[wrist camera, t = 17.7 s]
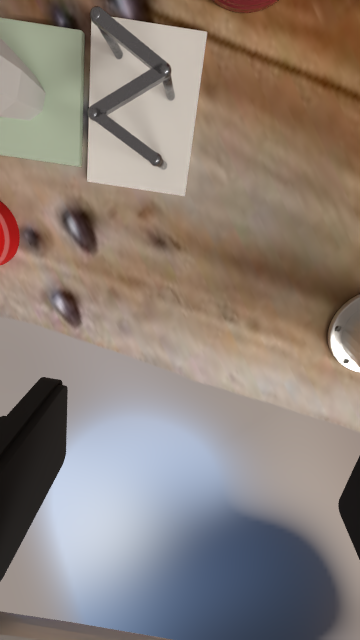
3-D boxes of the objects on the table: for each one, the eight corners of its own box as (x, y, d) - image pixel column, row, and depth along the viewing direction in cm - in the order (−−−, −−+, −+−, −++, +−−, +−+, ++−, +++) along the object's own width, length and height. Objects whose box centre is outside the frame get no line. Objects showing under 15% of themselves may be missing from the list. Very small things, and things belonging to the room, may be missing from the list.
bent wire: (180, 56, 34) (176, 15, 26) (167, 171, 38) (160, 166, 30) (113, 46, 34) (88, 1, 26) (107, 162, 38) (84, 155, 30)
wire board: (206, 36, 34) (207, 31, 33) (185, 196, 40) (184, 196, 39) (94, 18, 34) (91, 13, 33) (89, 181, 40) (87, 181, 39)
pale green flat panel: (84, 34, 35) (81, 30, 34) (81, 167, 39) (79, 166, 38) (-37, 15, 34) (-43, 10, 33) (-24, 151, 39) (-30, 150, 38)
